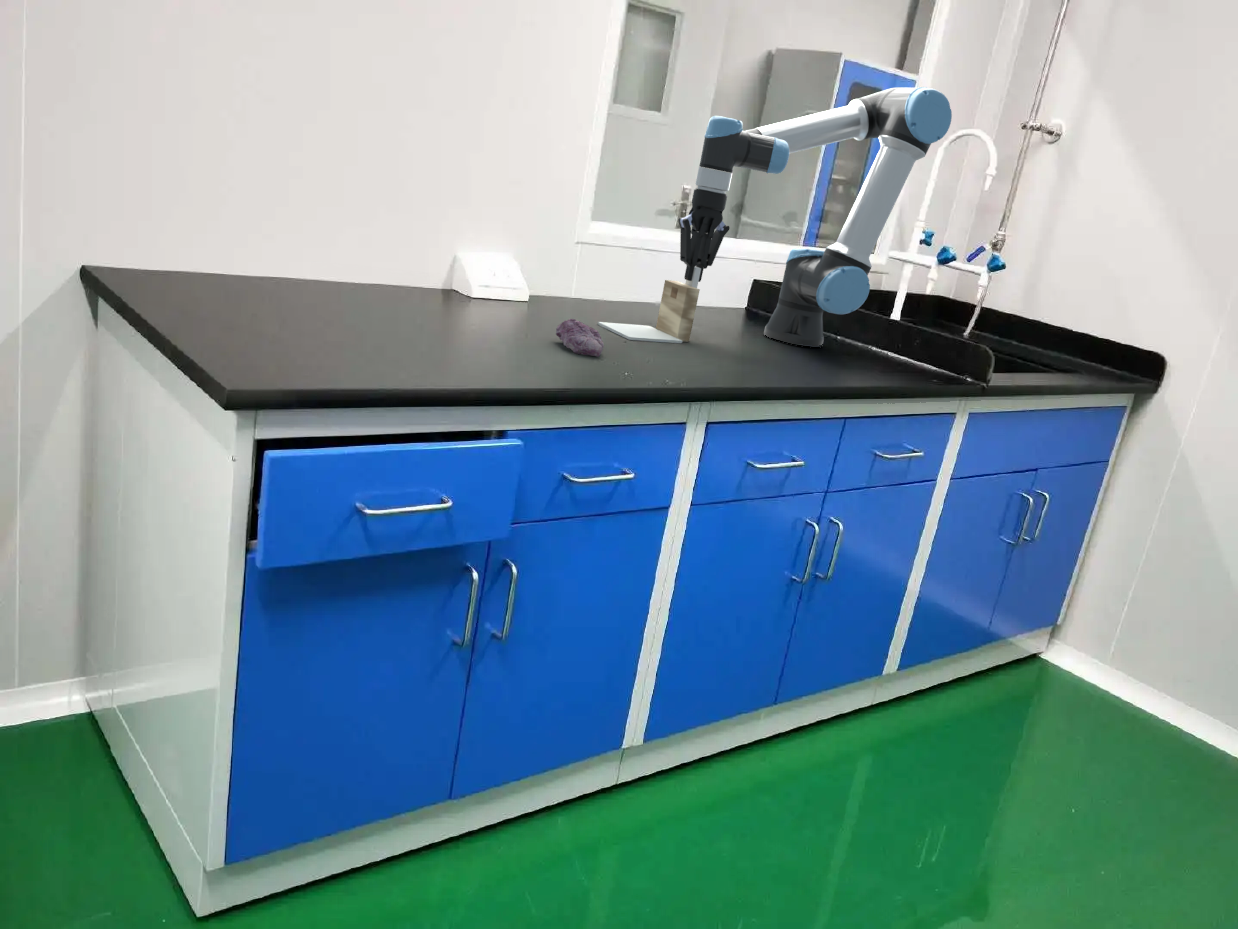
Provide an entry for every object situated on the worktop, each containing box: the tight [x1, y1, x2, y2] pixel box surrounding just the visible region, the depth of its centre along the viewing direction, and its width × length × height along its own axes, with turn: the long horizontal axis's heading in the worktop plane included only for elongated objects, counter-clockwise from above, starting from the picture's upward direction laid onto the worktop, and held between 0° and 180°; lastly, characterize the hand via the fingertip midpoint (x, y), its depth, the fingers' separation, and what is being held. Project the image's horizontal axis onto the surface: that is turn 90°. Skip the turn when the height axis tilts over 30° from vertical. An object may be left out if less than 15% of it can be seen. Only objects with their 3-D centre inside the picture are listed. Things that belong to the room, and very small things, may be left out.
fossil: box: [555, 318, 605, 358], centre depth 198 cm, size 8×14×5 cm, turn 28°
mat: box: [597, 321, 683, 344], centre depth 227 cm, size 14×14×1 cm
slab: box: [655, 279, 701, 343], centre depth 230 cm, size 4×9×12 cm, turn 31°
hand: (689, 295), depth 230 cm, fingers closed
